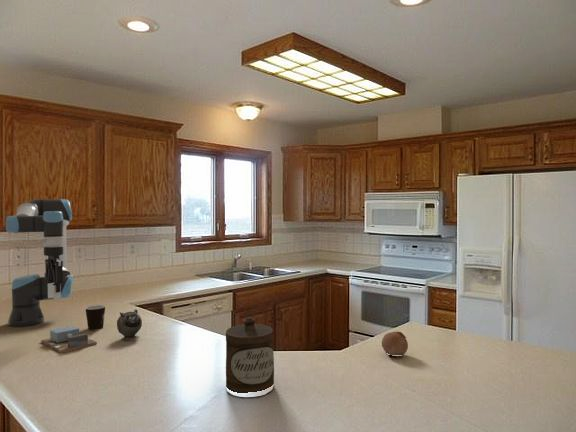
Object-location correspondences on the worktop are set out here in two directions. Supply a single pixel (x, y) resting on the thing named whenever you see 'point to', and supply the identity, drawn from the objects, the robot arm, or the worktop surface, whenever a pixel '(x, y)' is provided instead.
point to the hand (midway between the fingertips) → (54, 298)
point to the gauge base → (65, 345)
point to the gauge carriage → (63, 333)
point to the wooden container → (249, 357)
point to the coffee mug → (95, 317)
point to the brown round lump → (395, 343)
